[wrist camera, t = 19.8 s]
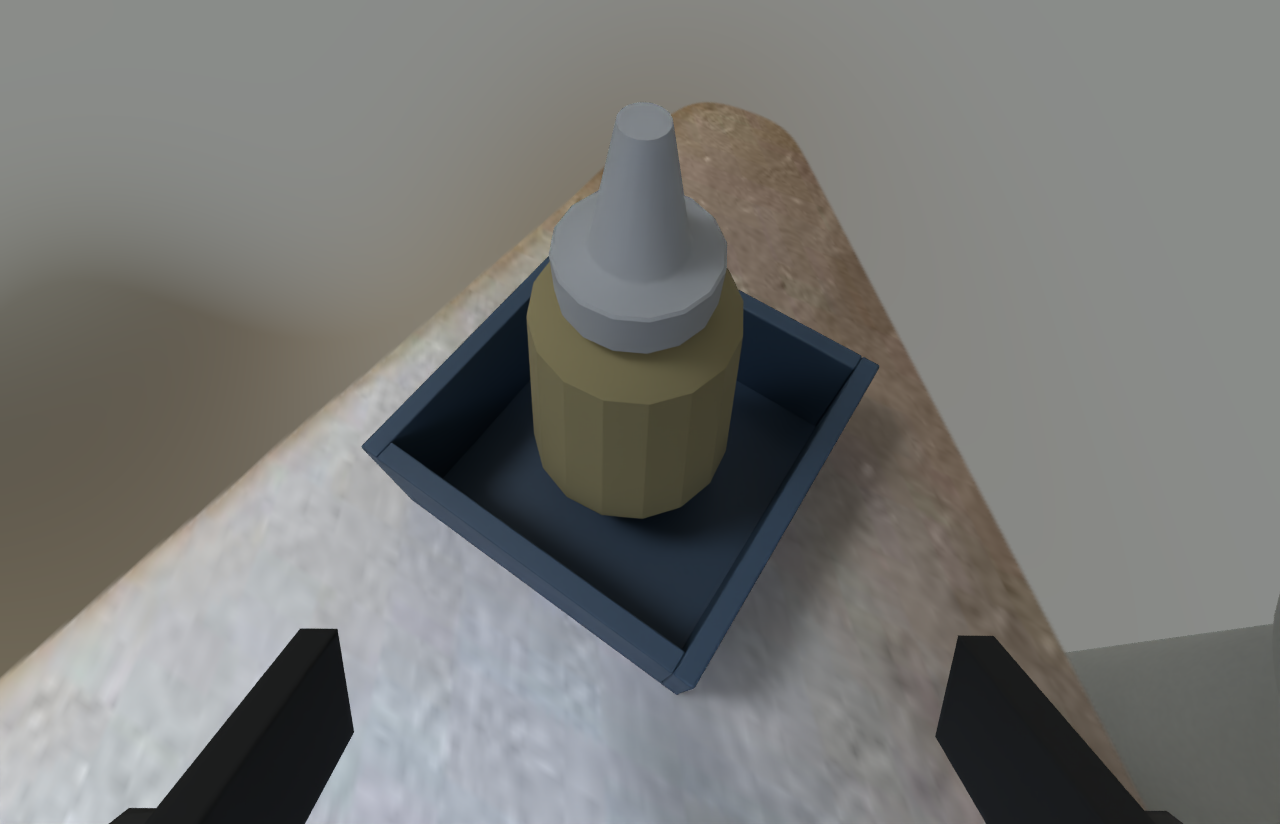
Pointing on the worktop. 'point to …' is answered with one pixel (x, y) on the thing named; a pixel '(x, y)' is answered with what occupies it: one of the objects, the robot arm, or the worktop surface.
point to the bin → (620, 546)
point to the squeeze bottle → (635, 334)
